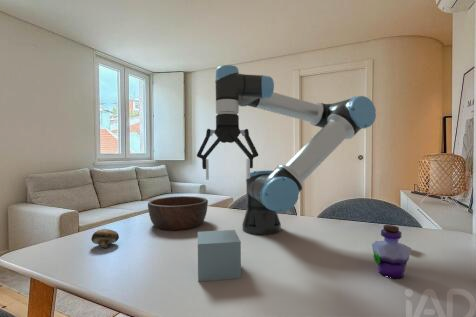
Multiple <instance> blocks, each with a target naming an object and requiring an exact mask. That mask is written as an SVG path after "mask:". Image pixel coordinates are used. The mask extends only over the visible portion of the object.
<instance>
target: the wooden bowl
mask: <svg viewBox="0 0 476 317" xmlns="http://www.w3.org/2000/svg"><path fill="white" fill-rule="evenodd" d="M208 204H209V200H208V199H207V198H205V197H202V196H189V195H187V196H184V195H181V196H180V195H177V196H176V195H175V196H166V197H160V198H154V199H152V200H150V201H148V203H147V208H148V216H149V218H150V221H151V223H152V224H153V226H154V227H155V228H156V229H159V230H163V231H183V230H184V231H185V230H190V229H194V228H197V227H200V226H201V225H202V224H203V223H204V220H205V219H206V216H207V212H208V206H209V205H208Z"/></svg>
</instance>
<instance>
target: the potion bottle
mask: <svg viewBox="0 0 476 317" xmlns="http://www.w3.org/2000/svg"><path fill="white" fill-rule="evenodd" d="M383 228H384V229H383ZM383 228H381V230H380V235H381V237H383V238H384V239H383V240H377V241H374V242H373V243H371V247H372V248H371V249H372V252H373V259H374V263H376V265H377V268H378V274H379V275H381V276H382V277H384V278H387V279H392V280H403V279H404V277H405V270H406V267H407V263H408V261H409V260H410V257H411V252H412V248H411V247H409V246H407V245H406V244H405V243H401V242H399V241H398V239H399V240H400V239H401V238H402V231H400V227H399V226H396V225H393V224H384V225H383ZM385 276H388V277H385ZM390 277H391V278H390ZM397 278H398V279H397Z"/></svg>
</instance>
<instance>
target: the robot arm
mask: <svg viewBox="0 0 476 317" xmlns="http://www.w3.org/2000/svg"><path fill="white" fill-rule="evenodd" d="M214 83H215V113H216V114H217V115H216V116H215V129H211V128H207V129H206V134H205V136H204V137H205V138H204V140H202V144H201V145H200V148H199V150H198V152H197V154H196V157H197V158H199V159H201V160H202V162H201V163H202V164H201V165H202V169H203V170H205V180H206V181H207V180H209V179H210V178H209V177H210V176H209V174H210V173H209V167H210V165H209V159H207V158H208V157H209V155H210V154H211V153H212V152H213V150H214V149H215V148H216V147H217V146H218V144H220V143H222V144H223V143H224V144H225V143H230V144H232V143H233V144H234V143H235V144H236V145H237V146H238V147H239V148H240V150H241V151H242V152H243V154H245V155H246V157H247V158H246V159H245V173H246V174H245V175H246V176H245V182H246V210H245V211H246V212H245V214H244V218H243V221H242V226H241V227H242V231H244V232H246V233H248V234H254V235H273V234H277V233H279V232H281V231H282V230H281V229H282V227H281V226H282V225H281V221H280V218H279V214H278V213H280V212H281V213H282V212H286V211H287V212H288V211H289V210H291V209H292V208H294V206H295V205H296V204H297V202H298V200H299V195H300V192H301V191H302V190H303V188H304V187H303V183H304V182H305V180H307V178H308V177H310V175H311V174H312V173H313V172H314V171H316V169H317V168H318V167H319V166H320V165H321V164H322V163H323V162H324V161H325V160H326V159H327V158H328V157H329V156H330V155H331V154H332V153H333V152H334V151H335V150H337V148H338V147H339V146H340V145H341V144H342V143H343V142H344V141H345V140H346V139H347V140H351V139H352V138H353V137H354V136H356V135H357V134H358V133H359V132H360V130H362V129H368V128H369V127H371V126H373V124H374V123H375V121H376V119H377V113H376V107H375V104H374V102H373V101H372V100H371V99H370V98H369V97H367V96H365V95H358V96H357V95H356V96H353V97H351V98H348V99H344V100H340V101H338V102H334V103H323V102H319V101H318V102H316V103H314V102H311V101H310V102H309V101H305V100H303V99H298V98H295V97H291V96H288V95H285V94H280V93H277V92H274V89H275V82H274V79H273V77H271V76H269V75H263V74H262V75H259V74H246V73H245V74H244V73H240V71H239V68H238V67H237V66H236V65H232V64H223V65H220V66H218V67H217V68H216V70H215V81H214ZM239 107H251V108H255V109H259V110H264V111H267V112H271V113H275V114H279V115H282V116H286V117H291V118H294V119H298V120H301V121H306V122H309V124H310V125H312V126H315V127H319V128H321V129H320V130H319V131H318V132H317V133H316V134H315V135H313V137H312V138H310V140H309V141H308V142H306V144H305V145H304V146H303V147H302V148H301V149H299V151H298V152H297V153H295V155H293V156H292V158H290V160H288V162H287V163H286V164H284V165H282V164H281V165H278V166H276V168H274V169H273V170H253V171H251V169H253V168H254V159H255V158H256V157H259V153H258V151H257V149H256V146H255V144H254V143H253V140H252V139H251V137H250V132H249V129H248V128H246V129H240V125H239V124H240V122H239V121H240V120H239V119H240V116H239V115H238V114H239V111H240V109H239ZM213 134H214V135H215V136H216V137H217V138H216V140H214V142H213V143H212V144H211V146H209V148H208V149H207V150H206V152H204V149H205V148H206V146H207V144H208V142H209V139H210V137H212V136H213ZM240 135H241V136H242V137H244V139H245V142H246V143H247V145H248V148H249V149H250V151H249V149H248V148H247V147H246V146H245V145H244V143H243V142H242V141H241V139H239V136H240ZM203 152H204V154H203Z"/></svg>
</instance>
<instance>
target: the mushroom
mask: <svg viewBox="0 0 476 317" xmlns="http://www.w3.org/2000/svg"><path fill="white" fill-rule="evenodd" d="M119 238H120V236H119V233H118V232H117V231H116V230H113V229H107V228H103V229H98V230H96V231H94V232H93V234H92V235H91V239H90V240H91V242H92V243H93V244H95V245H98V246H99V247H101V248H104V249H107V248H109V245H111V244H114V243H116V242H118V241H119Z"/></svg>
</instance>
